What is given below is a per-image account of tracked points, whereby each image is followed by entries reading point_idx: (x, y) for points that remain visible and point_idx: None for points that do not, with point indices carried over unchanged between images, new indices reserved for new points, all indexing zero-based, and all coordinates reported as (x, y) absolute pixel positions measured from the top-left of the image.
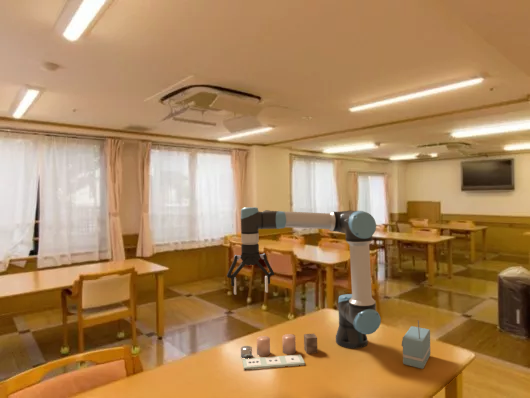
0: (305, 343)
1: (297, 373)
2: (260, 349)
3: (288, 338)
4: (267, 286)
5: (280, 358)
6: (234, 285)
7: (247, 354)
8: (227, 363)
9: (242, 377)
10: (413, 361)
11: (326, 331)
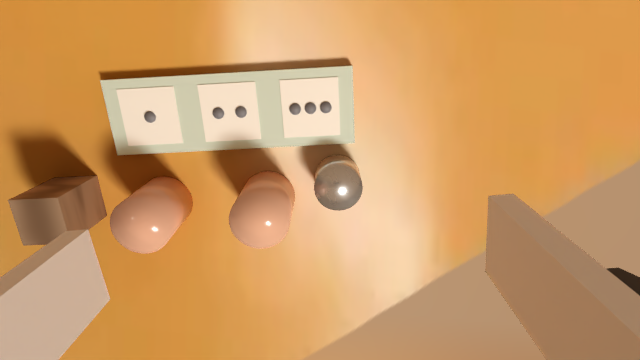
0: (82, 206)
1: (135, 12)
2: (278, 184)
3: (141, 206)
4: (10, 273)
5: (199, 129)
6: (589, 257)
7: (334, 160)
8: (414, 130)
9: (358, 4)
10: None
11: None
